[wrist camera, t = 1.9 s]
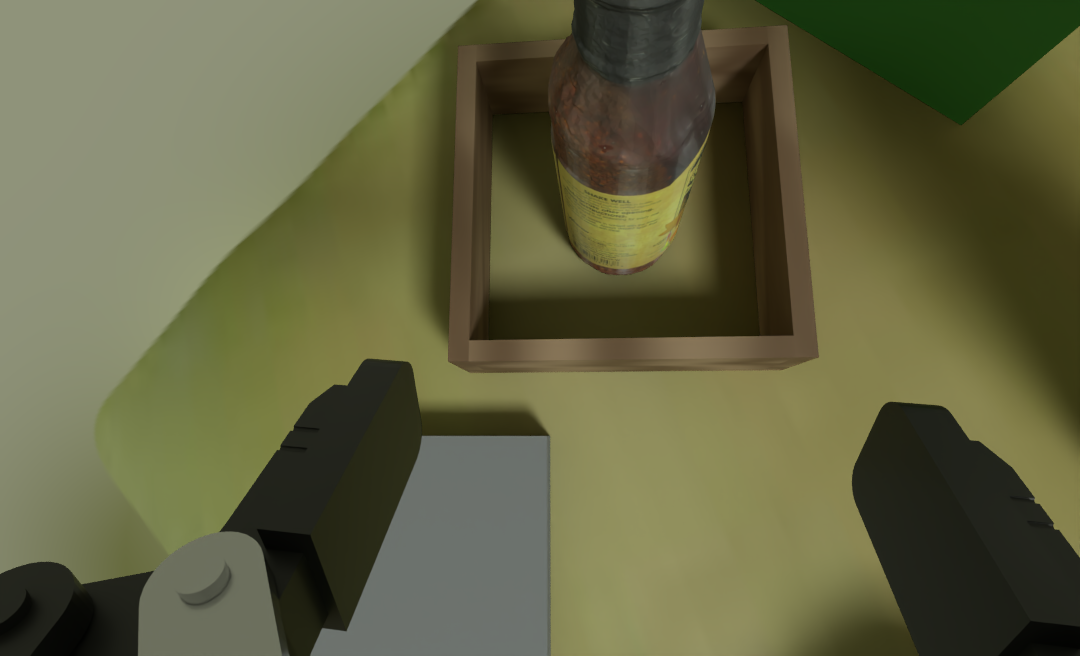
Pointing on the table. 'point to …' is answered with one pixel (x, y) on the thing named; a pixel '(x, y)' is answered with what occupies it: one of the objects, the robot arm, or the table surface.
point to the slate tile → (461, 557)
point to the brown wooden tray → (775, 203)
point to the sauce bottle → (629, 126)
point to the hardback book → (939, 42)
